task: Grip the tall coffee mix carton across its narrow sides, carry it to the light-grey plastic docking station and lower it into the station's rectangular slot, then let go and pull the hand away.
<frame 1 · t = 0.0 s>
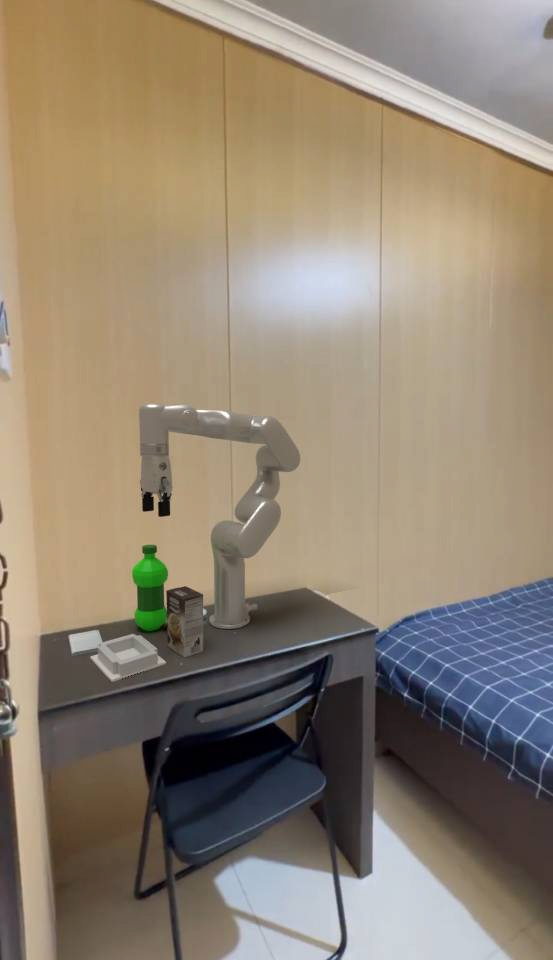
hand: (156, 513, 132), 37 cm above the table, tool pointing down, fingers open, 9 cm apart
hard drive: (86, 646, 135), on the table
coffee box: (185, 649, 132), on the table
dock: (127, 661, 125), on the table
plastic bottle: (151, 628, 146), on the table
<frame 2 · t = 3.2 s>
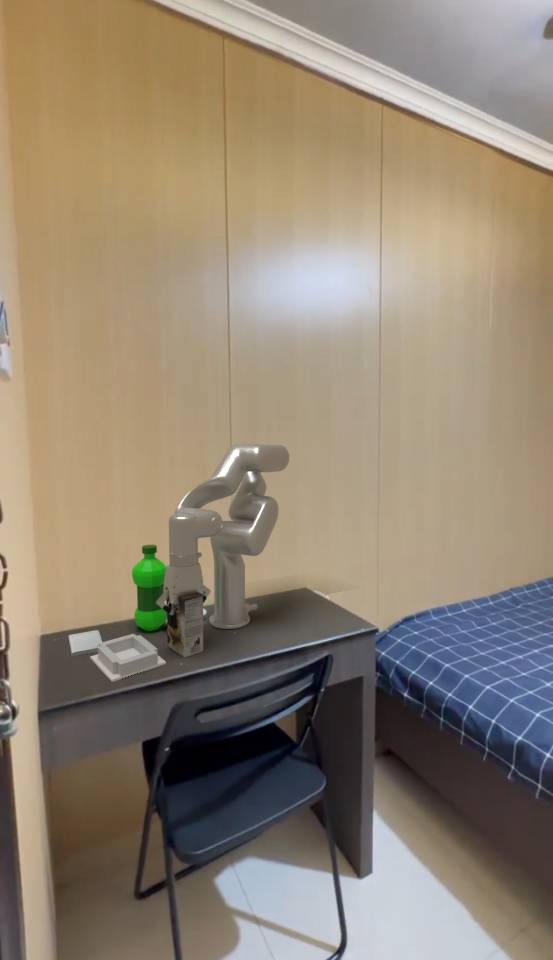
hand: (184, 623, 131), 7 cm above the table, tool pointing down, fingers closed on coffee box, 6 cm apart
coffee box: (185, 649, 132), on the table, touching gripper
everything else where it was.
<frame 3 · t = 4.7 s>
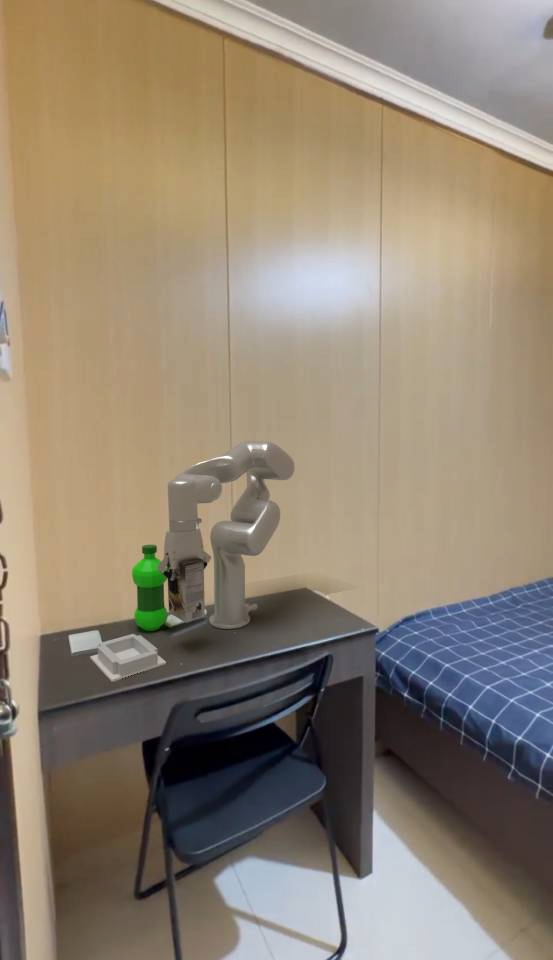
hand: (185, 589, 131), 17 cm above the table, tool pointing down, fingers closed on coffee box, 6 cm apart
coffee box: (186, 615, 132), point 9 cm above the table, touching gripper
everything else where it was.
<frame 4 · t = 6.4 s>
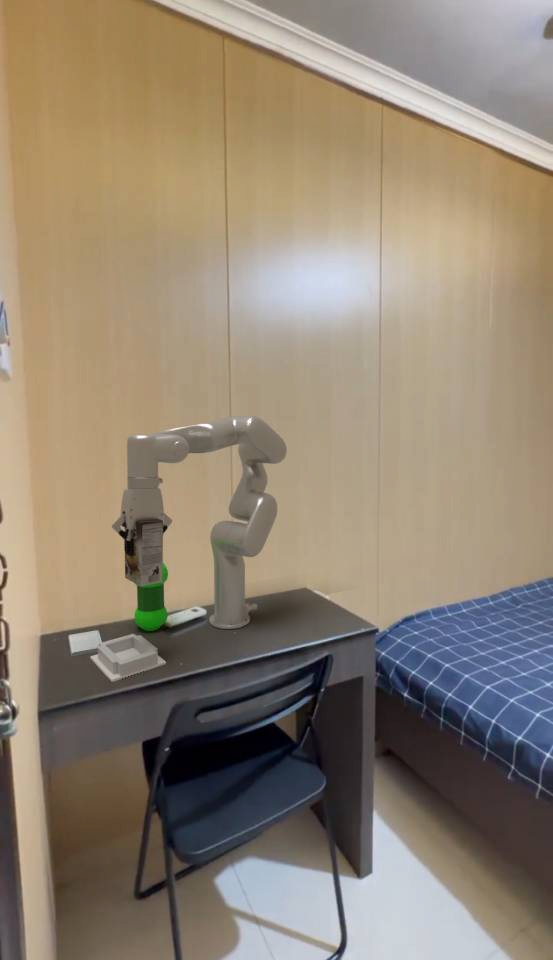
hand: (143, 552, 124), 28 cm above the table, tool pointing down, fingers closed on coffee box, 6 cm apart
coffee box: (143, 580, 125), point 21 cm above the table, touching gripper
everything else where it was.
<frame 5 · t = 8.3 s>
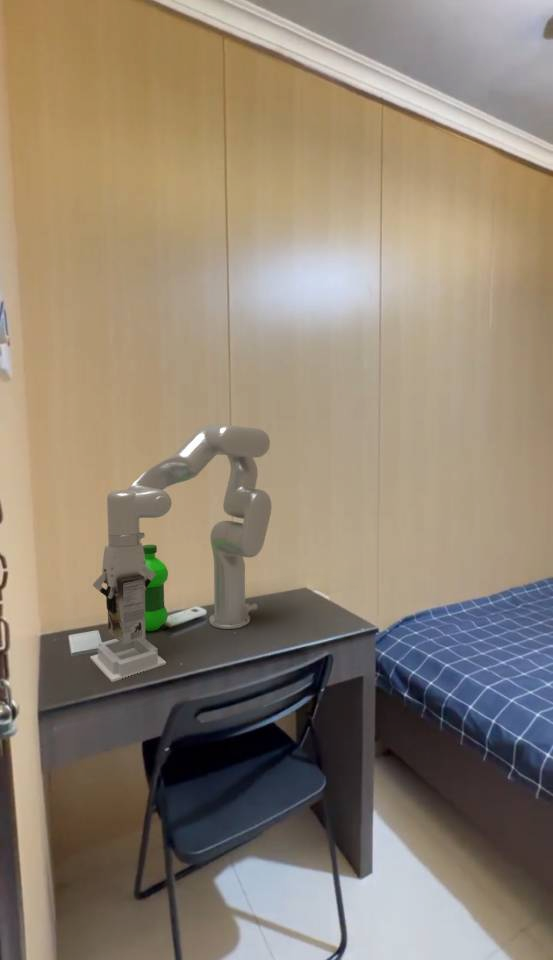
hand: (126, 608, 123), 14 cm above the table, tool pointing down, fingers closed on coffee box, 6 cm apart
coffee box: (126, 636, 124), point 7 cm above the table, touching gripper
everything else where it was.
when the fingers open (9 cm above the table, at t = 10.1 s): coffee box stays where it is, resting on dock.
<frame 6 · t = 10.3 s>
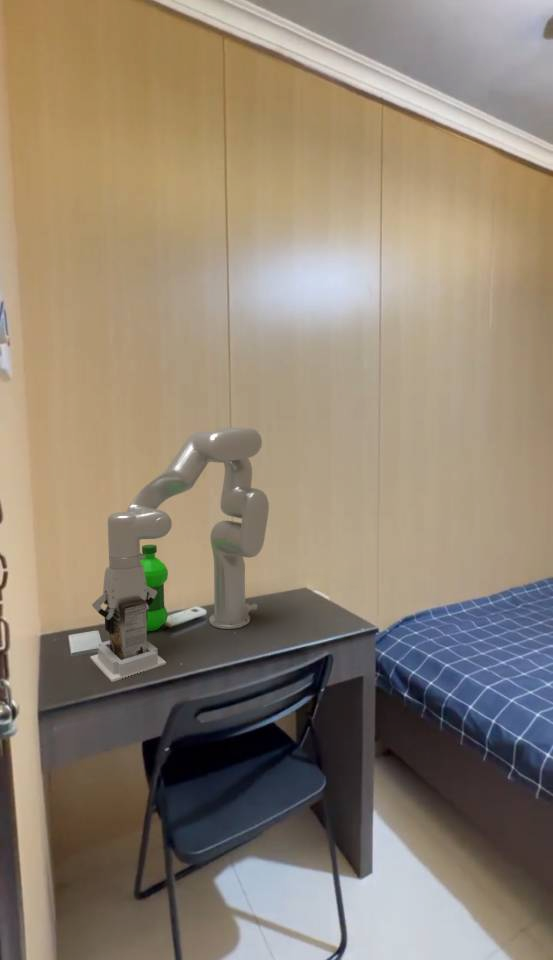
hand: (126, 627, 124), 9 cm above the table, tool pointing down, fingers open, 8 cm apart
coffee box: (128, 659, 125), resting on dock
everything else where it was.
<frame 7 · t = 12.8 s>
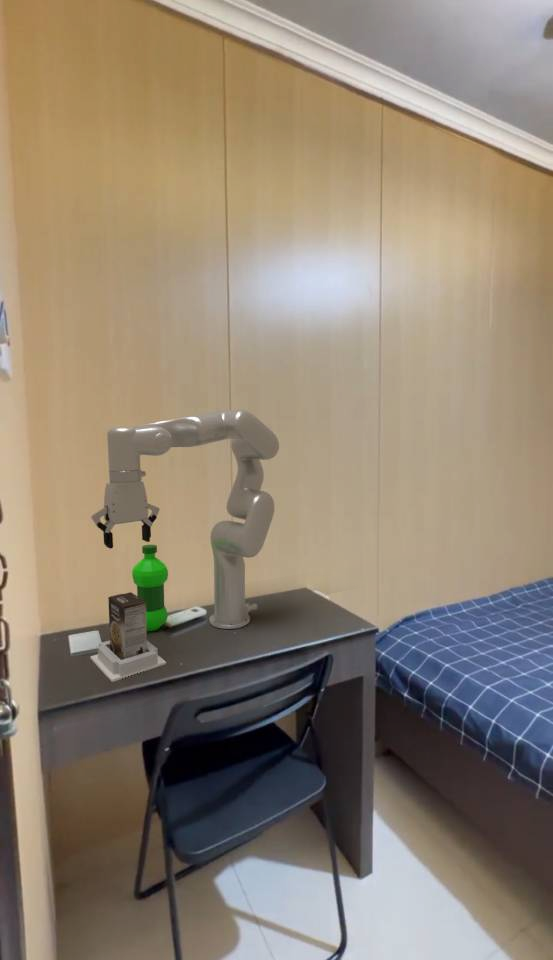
hand: (128, 544, 123), 31 cm above the table, tool pointing down, fingers open, 9 cm apart
nothing on the table moved.
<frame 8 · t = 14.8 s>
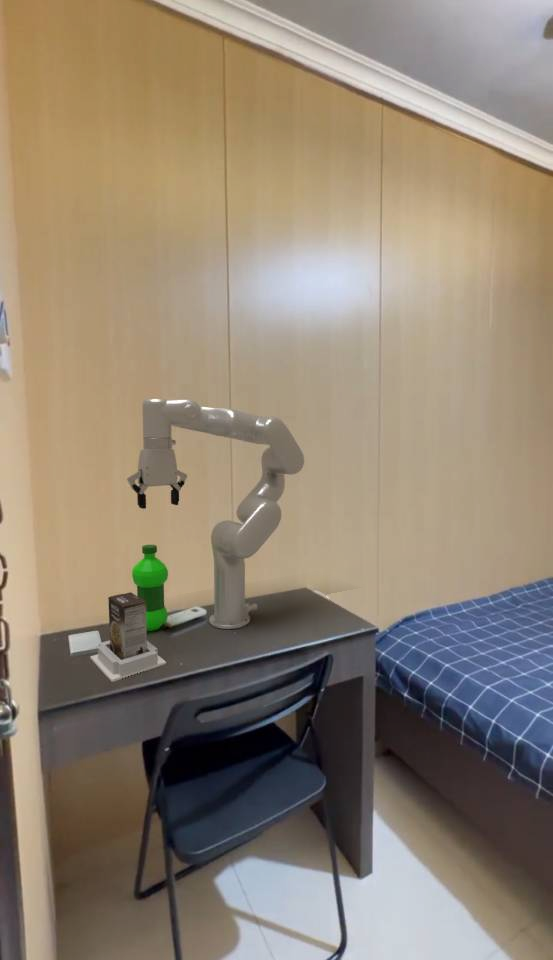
hand: (158, 506, 134), 38 cm above the table, tool pointing down, fingers open, 9 cm apart
nothing on the table moved.
at the end: coffee box 0.2 cm off-centre on the dock, point 0.4 cm above the dock's base; coffee box tilted 0°; the gripper is holding nothing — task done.
